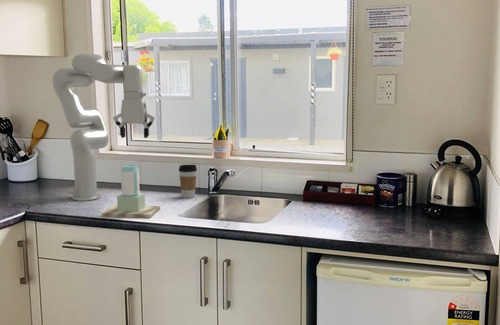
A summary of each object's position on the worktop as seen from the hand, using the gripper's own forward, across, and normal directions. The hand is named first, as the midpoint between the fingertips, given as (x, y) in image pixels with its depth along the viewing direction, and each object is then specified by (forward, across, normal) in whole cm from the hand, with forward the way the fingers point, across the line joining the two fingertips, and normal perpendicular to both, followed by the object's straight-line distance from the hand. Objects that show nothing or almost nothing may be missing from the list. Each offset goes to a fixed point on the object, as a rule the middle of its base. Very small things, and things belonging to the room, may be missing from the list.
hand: (134, 137), depth 226 cm
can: (+23, 0, +7) cm, 24 cm away
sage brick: (+29, 0, +7) cm, 30 cm away
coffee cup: (+31, -16, -26) cm, 43 cm away
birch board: (+30, 0, +7) cm, 31 cm away
